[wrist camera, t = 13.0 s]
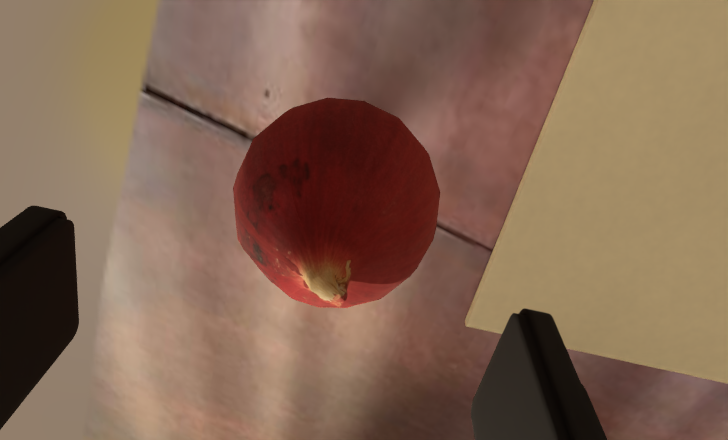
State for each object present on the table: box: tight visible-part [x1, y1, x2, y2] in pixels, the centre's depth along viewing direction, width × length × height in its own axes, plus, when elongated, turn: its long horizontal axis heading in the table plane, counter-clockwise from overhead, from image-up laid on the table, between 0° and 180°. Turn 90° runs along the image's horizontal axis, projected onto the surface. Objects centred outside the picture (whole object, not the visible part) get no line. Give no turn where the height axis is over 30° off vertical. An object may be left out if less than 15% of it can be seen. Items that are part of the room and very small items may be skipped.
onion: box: [233, 98, 440, 308], centre depth 15 cm, size 6×6×8 cm
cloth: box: [465, 0, 728, 384], centre depth 18 cm, size 12×14×1 cm
